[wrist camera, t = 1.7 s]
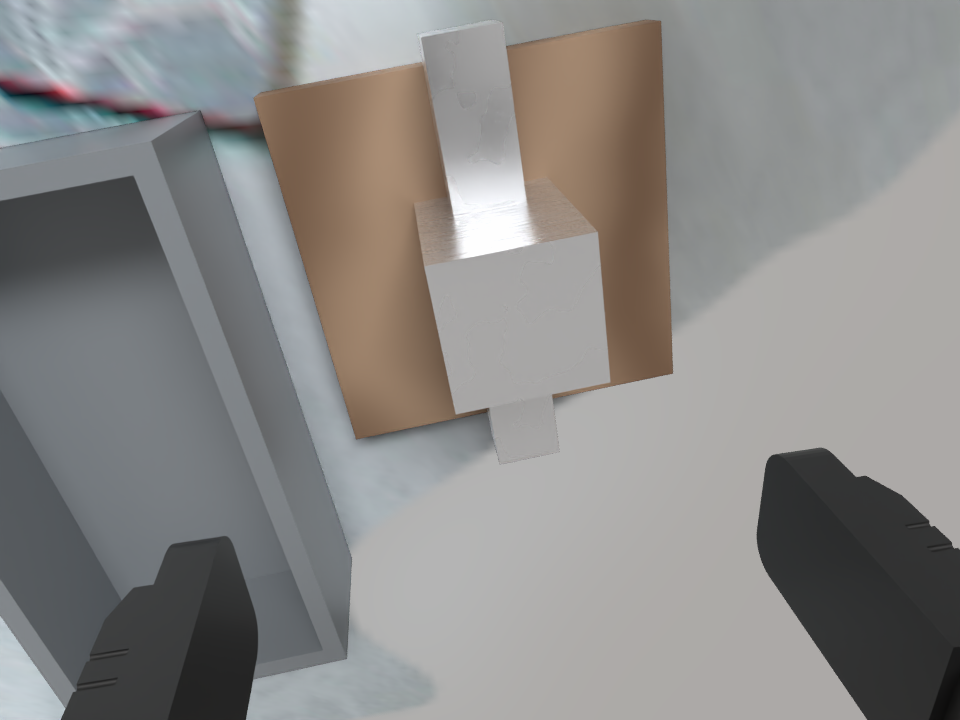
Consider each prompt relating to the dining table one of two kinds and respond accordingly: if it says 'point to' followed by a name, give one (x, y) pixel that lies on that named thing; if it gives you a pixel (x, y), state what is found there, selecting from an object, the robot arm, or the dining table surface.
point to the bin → (147, 401)
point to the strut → (504, 254)
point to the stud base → (419, 177)
